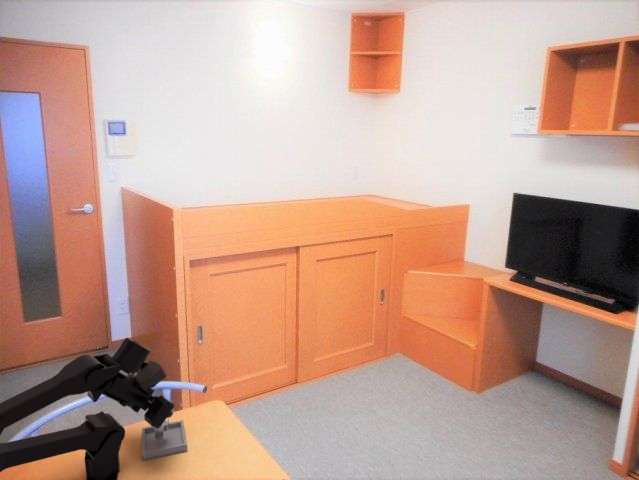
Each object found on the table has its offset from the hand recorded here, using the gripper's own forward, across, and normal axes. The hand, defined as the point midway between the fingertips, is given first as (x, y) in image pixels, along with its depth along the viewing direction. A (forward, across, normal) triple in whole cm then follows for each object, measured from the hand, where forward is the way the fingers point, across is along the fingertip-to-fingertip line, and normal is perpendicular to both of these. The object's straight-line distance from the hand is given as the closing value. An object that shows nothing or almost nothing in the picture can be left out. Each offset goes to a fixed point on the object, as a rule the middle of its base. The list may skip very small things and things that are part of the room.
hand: (166, 410), depth 118 cm
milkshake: (+4, 0, +6) cm, 7 cm away
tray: (+5, 0, +7) cm, 9 cm away
